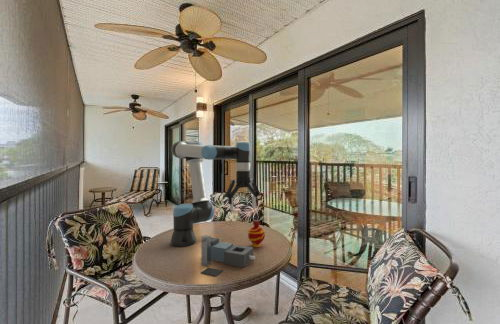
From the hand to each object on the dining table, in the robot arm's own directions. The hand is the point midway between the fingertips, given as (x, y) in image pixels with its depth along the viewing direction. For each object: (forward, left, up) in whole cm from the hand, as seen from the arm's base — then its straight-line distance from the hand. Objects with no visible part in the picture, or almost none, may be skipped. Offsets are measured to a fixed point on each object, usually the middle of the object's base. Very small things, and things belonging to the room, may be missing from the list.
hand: (243, 209), depth 139 cm
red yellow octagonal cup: (+2, +15, -25) cm, 29 cm away
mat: (-3, -27, -24) cm, 36 cm away
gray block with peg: (-10, -21, -24) cm, 33 cm away
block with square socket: (-3, -11, -24) cm, 27 cm away
